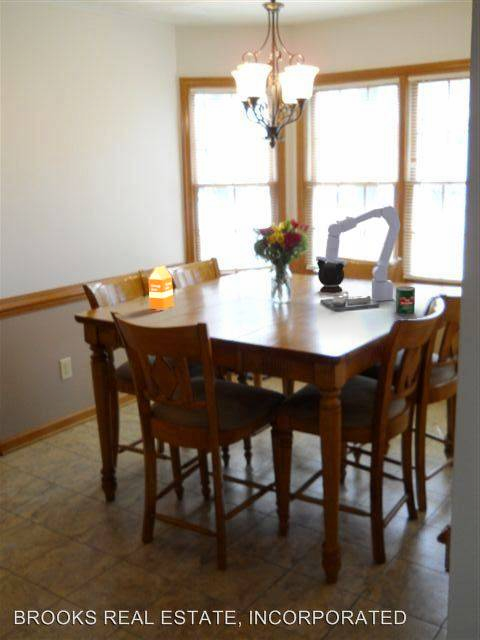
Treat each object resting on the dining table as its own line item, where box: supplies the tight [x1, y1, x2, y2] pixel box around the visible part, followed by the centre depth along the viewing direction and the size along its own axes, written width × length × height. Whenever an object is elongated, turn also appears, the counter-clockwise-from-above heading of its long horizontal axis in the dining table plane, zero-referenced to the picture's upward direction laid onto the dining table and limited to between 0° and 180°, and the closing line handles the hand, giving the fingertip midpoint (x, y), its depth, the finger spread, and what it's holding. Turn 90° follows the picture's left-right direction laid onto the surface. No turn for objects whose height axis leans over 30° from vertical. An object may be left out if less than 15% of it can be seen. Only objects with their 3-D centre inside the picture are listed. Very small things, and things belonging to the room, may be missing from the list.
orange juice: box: [147, 264, 175, 309], centre depth 323 cm, size 8×9×20 cm
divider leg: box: [342, 291, 350, 300], centre depth 319 cm, size 11×2×3 cm, turn 159°
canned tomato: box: [395, 285, 416, 316], centre depth 296 cm, size 8×8×11 cm
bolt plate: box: [319, 294, 380, 312], centre depth 316 cm, size 21×19×6 cm
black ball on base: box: [317, 262, 345, 294], centre depth 349 cm, size 13×13×15 cm
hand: (329, 277), depth 326 cm, fingers open, 7 cm apart
